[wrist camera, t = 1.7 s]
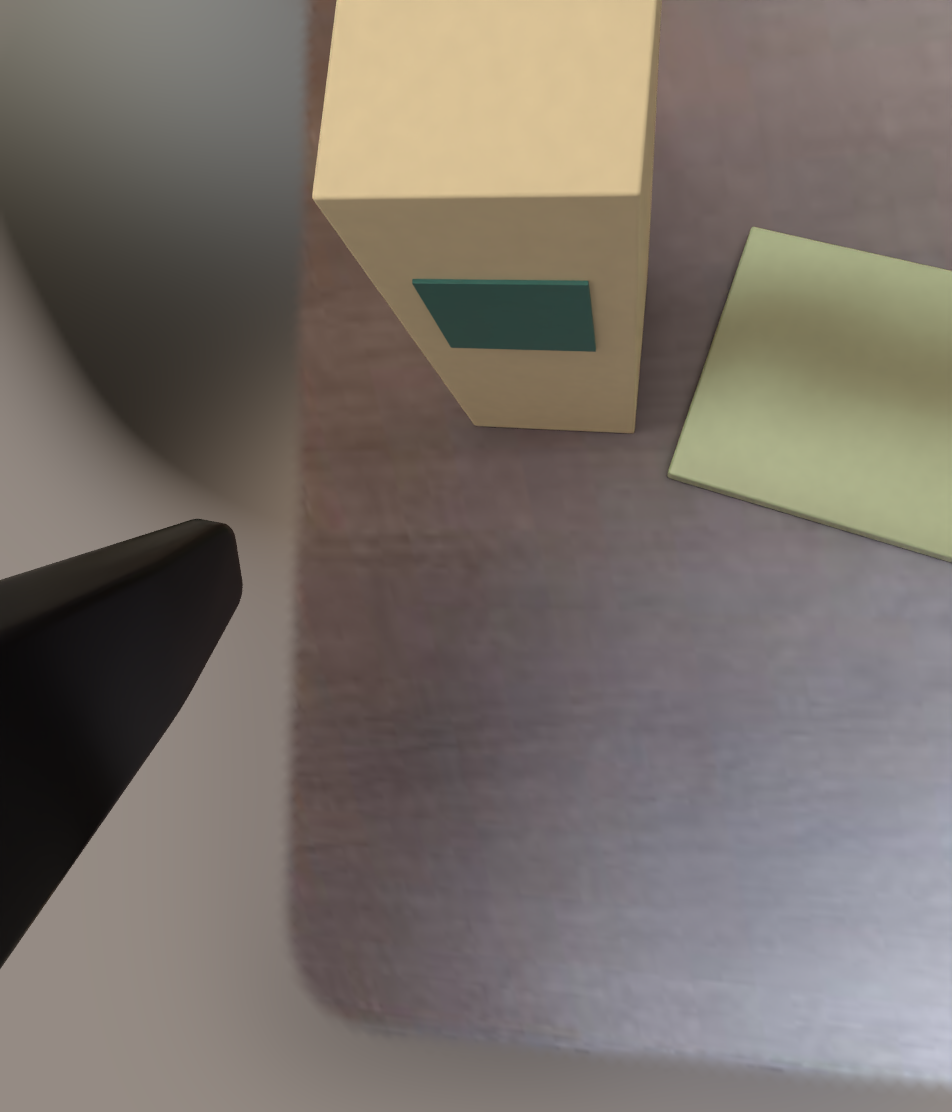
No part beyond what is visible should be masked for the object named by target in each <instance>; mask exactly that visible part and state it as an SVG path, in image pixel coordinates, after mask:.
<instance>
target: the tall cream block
mask: <svg viewBox="0 0 952 1112" xmlns="http://www.w3.org/2000/svg"><path fill="white" fill-rule="evenodd" d="M661 5H662V0H337V3H336V11H335V19H334V27H333V35H332V43H331V51H330V59H329V67H328V75H327V83H326V91H325V99H324V107H323V115H322V123H321V131H320V139H319V147H318V155H317V163H316V171H315V179H314V187H313V200H314V201H315V203H316V204H317V205H318V207H319V208H320V210H321V211H322V212H323V214H324V215H325V217H326V218H327V219H328V221H329V222H330V224H331V225H332V226H333V228H334V229H335V231H336V232H337V233H338V235H339V236H340V238H341V239H342V240H343V242H344V243H345V245H346V246H347V247H348V249H349V250H350V252H351V253H352V254H353V256H354V257H355V259H356V260H357V261H358V263H359V264H360V266H361V267H362V268H363V270H364V271H365V273H366V274H367V275H368V277H369V278H370V280H371V281H372V282H373V284H374V285H375V287H376V288H377V289H378V291H379V292H380V294H381V295H382V296H383V298H384V299H385V301H386V302H387V303H388V305H389V306H390V308H391V309H392V310H393V312H394V313H395V315H396V316H397V317H398V319H399V320H400V322H401V323H402V324H403V326H404V327H405V329H406V330H407V331H408V333H409V334H410V336H411V337H412V338H413V340H414V341H415V343H416V344H417V345H418V347H419V348H420V350H421V351H422V352H423V354H424V355H425V357H426V358H427V359H428V361H429V362H430V364H431V365H432V366H433V368H434V369H435V371H436V372H437V373H438V375H439V376H440V378H441V379H442V380H443V382H444V383H445V385H446V386H447V387H448V389H449V390H450V392H451V393H452V394H453V396H454V397H455V399H456V400H457V401H458V403H459V404H460V406H461V407H462V408H463V410H464V411H465V413H466V414H467V415H468V417H469V418H470V420H471V421H472V422H473V424H474V425H475V426H488V427H509V428H530V429H551V430H572V431H592V432H613V433H634V431H635V420H636V408H637V396H638V384H639V372H640V360H641V348H642V336H643V324H644V312H645V300H646V289H647V276H648V256H649V237H650V218H651V198H652V179H653V160H654V140H655V121H656V102H657V82H658V63H659V43H660V24H661Z"/></svg>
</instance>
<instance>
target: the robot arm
mask: <svg viewBox="0 0 952 1112" xmlns="http://www.w3.org/2000/svg"><path fill="white" fill-rule="evenodd" d="M241 595H242V576H241V570H240V564H239V558H238V552H237V545H236V539H235V535H234V532H233V530H232V529H231V528H230V527H229V526H228V525H227V524H223V523H218V522H212V521H208V520H202V519H193V520H189V521H186V522H183V523H180V524H177V525H173V526H170V527H167V528H164V529H161V530H158V531H154V532H151V533H148V534H145V535H142V536H139V537H135V538H132V539H129V540H126V541H123V542H120V543H116V544H113V545H110V546H107V547H104V548H101V549H98V550H94V551H91V552H88V553H85V554H81V555H78V556H75V557H72V558H69V559H66V560H62V561H60V562H56V563H53V564H50V565H47V566H44V567H40V568H37V569H34V570H31V571H28V572H24V573H22V574H18V575H15V576H12V577H9V578H5V579H2V580H0V968H1V967H2V966H3V964H4V963H5V961H6V960H7V958H8V957H9V956H10V954H11V953H12V951H13V950H14V948H15V947H16V946H17V944H18V943H19V941H20V940H21V938H22V937H23V936H24V934H25V933H26V931H27V930H28V928H29V927H30V925H31V924H32V923H33V921H34V920H35V918H36V917H37V915H38V914H39V912H40V911H41V910H42V908H43V907H44V905H45V904H46V902H47V901H48V900H49V898H50V897H51V895H52V894H53V892H54V891H55V890H56V888H57V887H58V885H59V884H60V882H61V881H62V880H63V878H64V877H65V875H66V874H67V872H68V871H69V869H70V868H71V866H72V865H73V864H74V862H75V861H76V859H77V858H78V857H79V855H80V854H81V852H82V850H83V849H84V848H85V846H86V845H87V844H88V842H89V841H90V839H91V838H92V836H93V835H94V833H95V832H96V831H97V829H98V828H99V826H100V825H101V823H102V822H103V821H104V819H105V818H106V816H107V815H108V813H109V812H110V811H111V809H112V808H113V806H114V805H115V803H116V802H117V800H118V799H119V798H120V796H121V795H122V793H123V792H124V790H125V789H126V788H127V786H128V785H129V783H130V782H131V780H132V779H133V777H134V776H135V775H136V773H137V771H138V770H139V769H140V767H141V766H142V764H143V763H144V762H145V760H146V759H147V757H148V756H149V755H150V753H151V752H152V750H153V749H154V747H155V746H156V744H157V743H158V742H159V740H160V739H161V737H162V736H163V734H164V733H165V732H166V730H167V729H168V727H169V726H170V724H171V723H172V721H173V720H174V718H175V717H176V715H177V714H178V712H179V711H180V709H181V707H182V706H183V704H184V702H185V701H186V699H187V697H188V696H189V694H190V692H191V691H192V688H193V687H194V685H195V683H196V681H197V680H198V678H199V676H200V674H201V672H202V670H203V669H204V667H205V665H206V663H207V661H208V659H209V657H210V655H211V654H212V652H213V650H214V648H215V647H216V645H217V643H218V641H219V639H220V637H221V636H222V634H223V632H224V630H225V628H226V626H227V625H228V623H229V621H230V619H231V617H232V615H233V614H234V612H235V610H236V608H237V606H238V604H239V602H240V599H241Z"/></svg>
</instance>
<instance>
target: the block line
mask: <svg viewBox="0 0 952 1112" xmlns="http://www.w3.org/2000/svg"><path fill="white" fill-rule="evenodd" d="M667 477H668V478H670V479H674V480H677V481H680V482H684V483H687V484H690V485H694V486H697V487H701V488H704V489H707V490H711V491H714V492H717V493H721V494H724V495H727V496H731V497H734V498H737V499H741V500H744V501H747V502H751V503H754V504H757V505H761V506H764V507H767V508H771V509H774V510H777V511H781V512H784V513H787V514H791V515H794V516H797V517H801V518H804V519H807V520H811V521H814V522H817V523H821V524H824V525H827V526H831V527H834V528H837V529H841V530H844V531H847V532H851V533H854V534H857V535H861V536H864V537H867V538H871V539H874V540H878V541H881V542H884V543H888V544H891V545H894V546H898V547H901V548H904V549H908V550H911V551H914V552H918V553H921V554H924V555H928V556H931V557H934V558H938V559H941V560H944V561H948V562H951V563H952V271H950V270H945V269H941V268H936V267H932V266H927V265H923V264H918V263H914V262H909V261H905V260H900V259H896V258H891V257H887V256H882V255H878V254H873V253H869V252H864V251H860V250H855V249H851V248H846V247H842V246H837V245H833V244H828V243H824V242H819V241H815V240H811V239H806V238H802V237H797V236H793V235H788V234H784V233H779V232H775V231H770V230H766V229H761V228H757V227H752V228H751V230H750V233H749V235H748V238H747V241H746V244H745V247H744V250H743V253H742V256H741V259H740V262H739V265H738V268H737V271H736V274H735V277H734V279H733V282H732V285H731V288H730V291H729V294H728V297H727V300H726V303H725V306H724V309H723V312H722V315H721V318H720V320H719V323H718V326H717V329H716V332H715V335H714V338H713V341H712V344H711V347H710V350H709V353H708V356H707V359H706V362H705V364H704V367H703V370H702V373H701V376H700V379H699V382H698V385H697V388H696V391H695V394H694V397H693V400H692V403H691V405H690V408H689V411H688V414H687V417H686V420H685V423H684V426H683V429H682V432H681V435H680V438H679V441H678V444H677V447H676V449H675V452H674V455H673V458H672V461H671V464H670V467H669V470H668V474H667Z"/></svg>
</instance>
